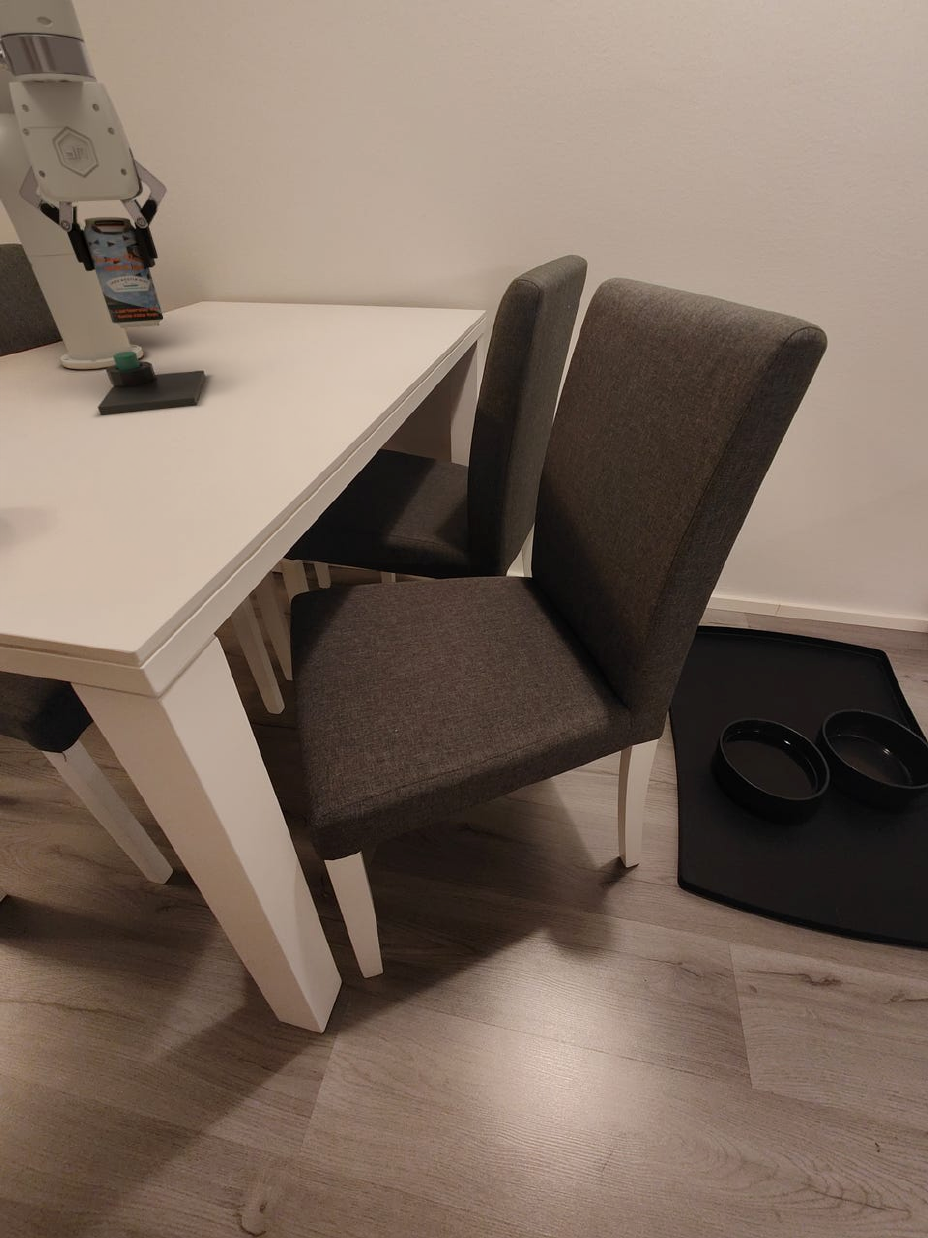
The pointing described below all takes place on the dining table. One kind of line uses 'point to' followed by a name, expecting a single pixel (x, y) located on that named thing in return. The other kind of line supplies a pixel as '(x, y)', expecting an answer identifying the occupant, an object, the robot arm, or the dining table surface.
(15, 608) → the dining table surface
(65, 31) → the robot arm
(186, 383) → the scale
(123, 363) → the button
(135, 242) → the beverage can
